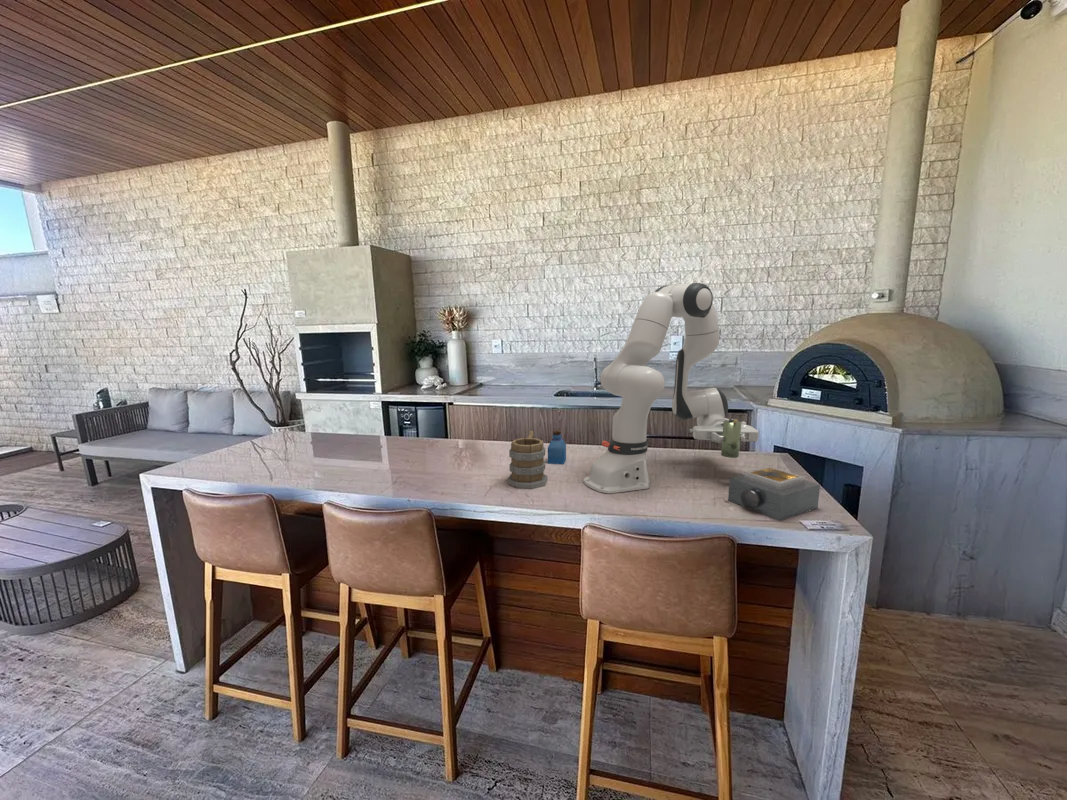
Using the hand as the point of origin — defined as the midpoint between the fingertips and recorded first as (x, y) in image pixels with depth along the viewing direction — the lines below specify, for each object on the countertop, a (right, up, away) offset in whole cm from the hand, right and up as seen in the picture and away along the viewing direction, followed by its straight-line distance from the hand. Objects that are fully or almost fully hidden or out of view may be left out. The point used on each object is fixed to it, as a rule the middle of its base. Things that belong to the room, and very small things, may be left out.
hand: (732, 439), depth 140 cm
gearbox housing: (+6, -18, -13) cm, 23 cm away
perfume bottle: (-54, -12, +30) cm, 63 cm away
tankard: (-65, -15, +11) cm, 67 cm away
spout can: (0, -5, +2) cm, 6 cm away
